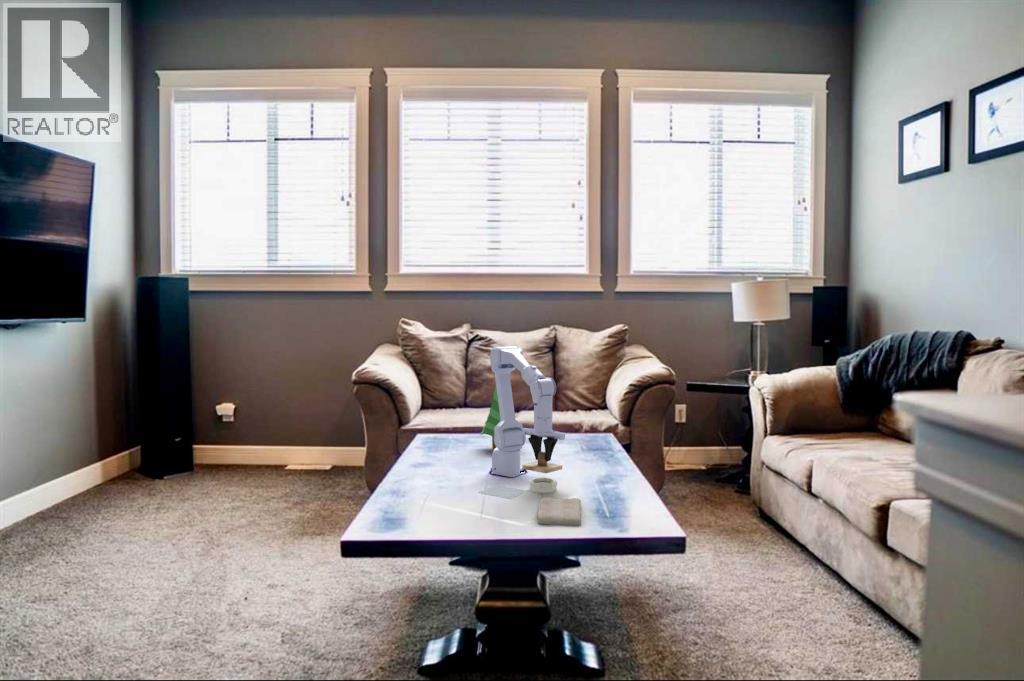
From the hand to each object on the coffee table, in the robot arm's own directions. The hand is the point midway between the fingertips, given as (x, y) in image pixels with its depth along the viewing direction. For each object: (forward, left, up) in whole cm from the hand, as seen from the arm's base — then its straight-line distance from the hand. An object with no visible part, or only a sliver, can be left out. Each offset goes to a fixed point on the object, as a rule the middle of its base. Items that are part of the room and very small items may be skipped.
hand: (543, 459), depth 200 cm
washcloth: (+15, -16, -11) cm, 24 cm away
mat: (-9, -9, -10) cm, 16 cm away
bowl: (0, 0, -10) cm, 10 cm away
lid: (0, 0, -3) cm, 3 cm away
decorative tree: (-43, +38, -10) cm, 58 cm away
